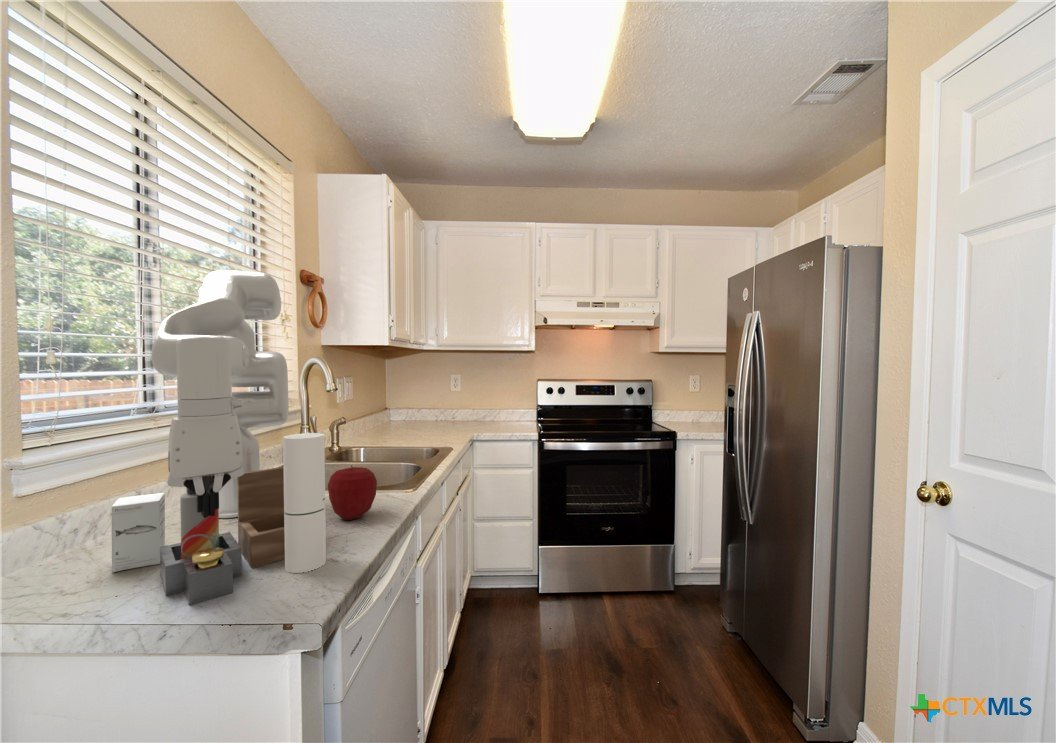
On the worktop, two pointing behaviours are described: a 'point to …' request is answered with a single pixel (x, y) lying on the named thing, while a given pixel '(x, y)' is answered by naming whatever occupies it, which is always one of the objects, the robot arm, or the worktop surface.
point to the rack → (261, 516)
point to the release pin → (207, 557)
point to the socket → (200, 571)
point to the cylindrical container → (304, 502)
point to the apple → (352, 492)
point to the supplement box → (137, 531)
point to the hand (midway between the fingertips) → (208, 514)
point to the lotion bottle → (197, 524)
